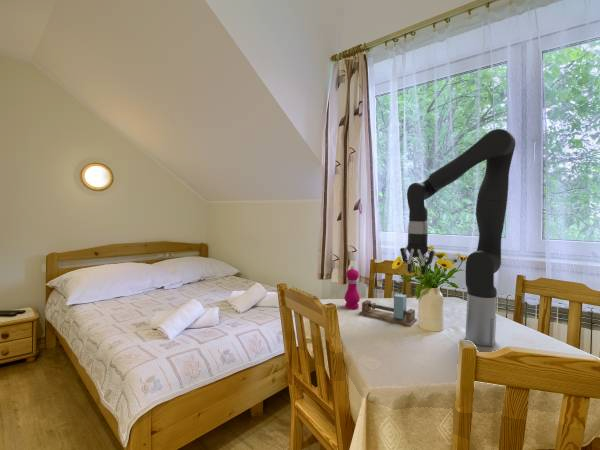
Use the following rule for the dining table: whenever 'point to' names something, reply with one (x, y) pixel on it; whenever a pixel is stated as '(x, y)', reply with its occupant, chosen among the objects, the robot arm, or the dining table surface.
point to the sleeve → (399, 306)
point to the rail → (387, 314)
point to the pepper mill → (352, 289)
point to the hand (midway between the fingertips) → (416, 273)
